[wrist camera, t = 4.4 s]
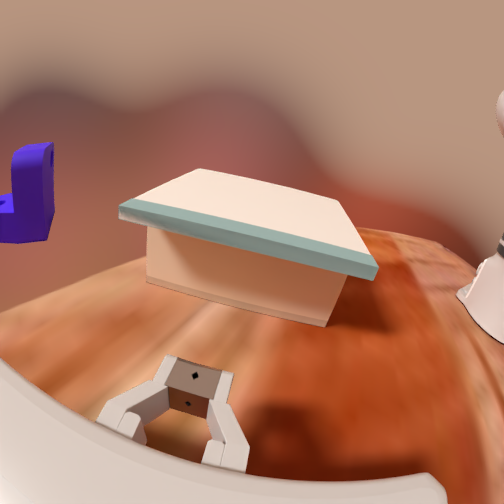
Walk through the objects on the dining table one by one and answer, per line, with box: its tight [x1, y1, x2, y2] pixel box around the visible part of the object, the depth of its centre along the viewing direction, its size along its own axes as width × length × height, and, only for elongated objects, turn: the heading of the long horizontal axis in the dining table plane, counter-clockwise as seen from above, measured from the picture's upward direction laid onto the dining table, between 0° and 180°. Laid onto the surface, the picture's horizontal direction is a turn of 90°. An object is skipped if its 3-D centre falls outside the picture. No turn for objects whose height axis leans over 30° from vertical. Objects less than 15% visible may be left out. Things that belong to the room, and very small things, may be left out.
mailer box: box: [146, 226, 347, 327], centre depth 30 cm, size 15×18×8 cm
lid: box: [119, 168, 379, 281], centre depth 27 cm, size 19×19×1 cm
